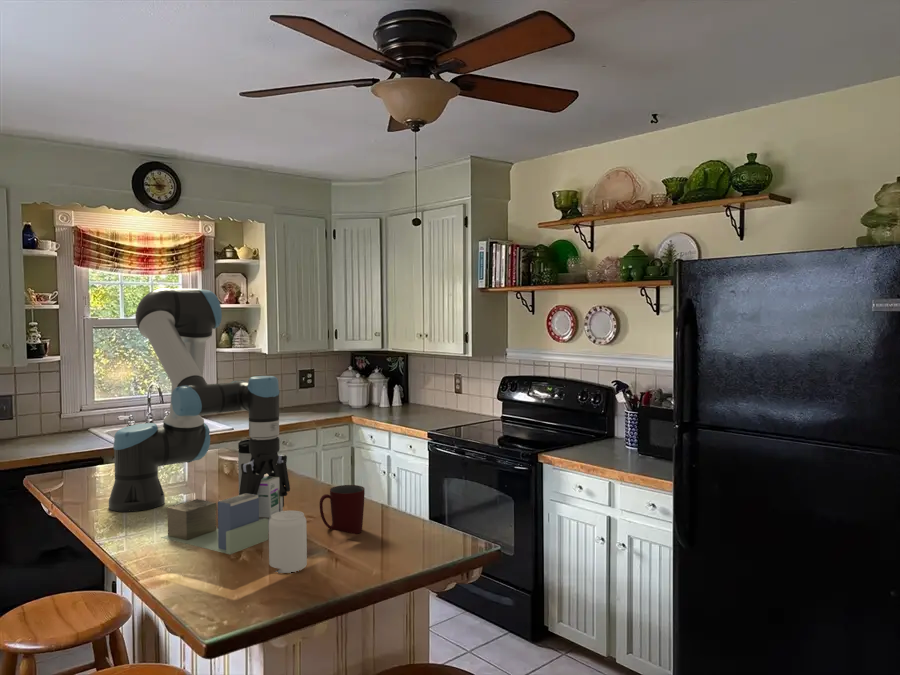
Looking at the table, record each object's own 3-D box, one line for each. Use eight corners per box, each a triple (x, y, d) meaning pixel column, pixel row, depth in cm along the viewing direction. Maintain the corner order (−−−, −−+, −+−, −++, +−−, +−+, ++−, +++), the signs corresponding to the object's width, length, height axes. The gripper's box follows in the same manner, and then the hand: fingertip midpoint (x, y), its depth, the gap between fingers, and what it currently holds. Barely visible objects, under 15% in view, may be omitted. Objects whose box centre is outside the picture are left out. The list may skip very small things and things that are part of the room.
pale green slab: (161, 543, 173) (160, 517, 173) (201, 530, 183) (200, 505, 183) (230, 560, 161) (229, 532, 160) (268, 545, 171) (268, 519, 171)
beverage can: (272, 562, 159) (272, 510, 159) (308, 561, 160) (308, 509, 160) (266, 576, 151) (265, 520, 151) (304, 574, 152) (303, 519, 151)
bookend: (167, 535, 174) (167, 507, 174) (197, 526, 182) (197, 499, 181) (186, 540, 170) (186, 511, 170) (216, 530, 178) (215, 502, 178)
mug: (328, 541, 174) (327, 497, 174) (313, 532, 181) (312, 489, 181) (371, 532, 181) (370, 490, 180) (355, 524, 188) (354, 483, 188)
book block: (218, 548, 165) (217, 501, 164) (247, 537, 172) (246, 493, 172) (230, 551, 163) (229, 504, 162) (259, 540, 170) (258, 495, 170)
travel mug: (266, 506, 205) (265, 438, 205) (253, 512, 199) (252, 442, 198) (248, 504, 207) (247, 437, 207) (234, 510, 201) (233, 441, 200)
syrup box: (271, 538, 176) (270, 481, 176) (249, 537, 177) (248, 480, 177) (281, 531, 182) (280, 476, 181) (260, 530, 183) (259, 475, 183)
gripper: (243, 445, 168) (244, 539, 169) (303, 432, 186) (304, 517, 187) (221, 442, 172) (222, 534, 172) (282, 429, 190) (283, 513, 191)
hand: (265, 525), depth 180 cm, fingers open, 8 cm apart
